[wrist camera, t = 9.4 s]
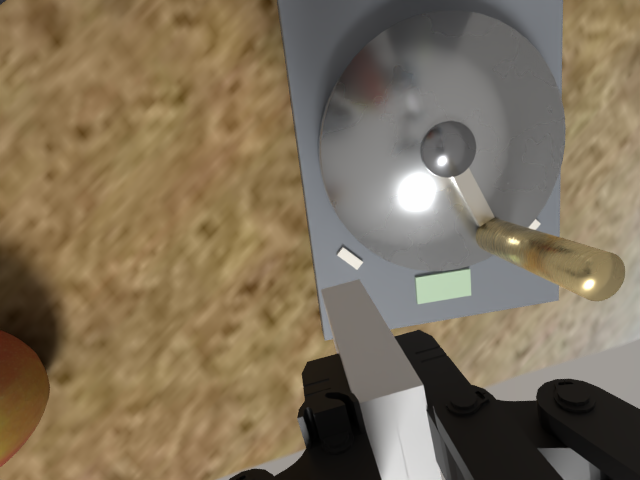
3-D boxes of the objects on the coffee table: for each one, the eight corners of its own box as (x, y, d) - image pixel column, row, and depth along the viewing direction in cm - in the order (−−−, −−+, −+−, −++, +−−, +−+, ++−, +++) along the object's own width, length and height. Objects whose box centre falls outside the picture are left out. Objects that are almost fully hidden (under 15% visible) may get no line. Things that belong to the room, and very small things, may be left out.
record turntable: (272, -35, 22) (271, -77, 18) (545, -60, 23) (602, -105, 19) (322, 330, 27) (330, 361, 23) (543, 292, 28) (588, 316, 24)
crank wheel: (395, 307, 25) (463, 395, 16) (269, 110, 21) (265, 80, 12) (585, 184, 24) (765, 203, 15) (487, -37, 21) (644, -175, 12)
